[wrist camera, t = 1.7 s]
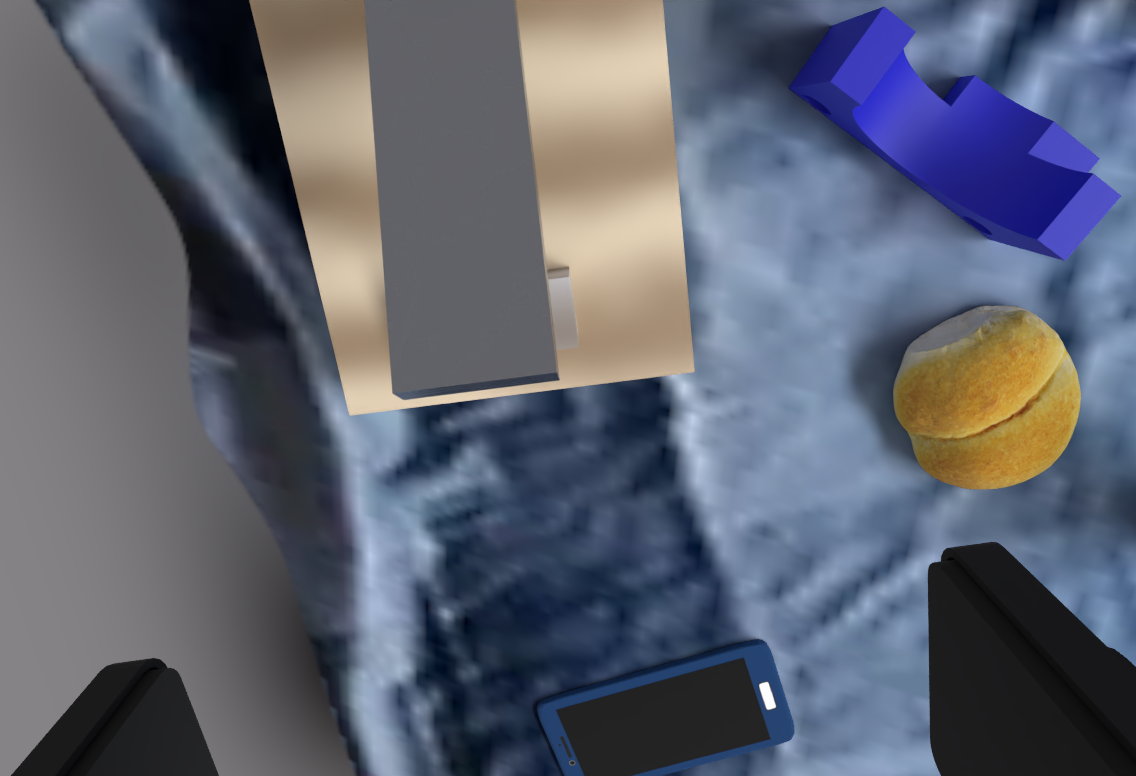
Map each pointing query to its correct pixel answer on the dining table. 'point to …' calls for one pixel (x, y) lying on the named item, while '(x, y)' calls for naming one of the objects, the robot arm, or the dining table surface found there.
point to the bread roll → (988, 398)
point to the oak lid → (564, 178)
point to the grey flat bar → (457, 198)
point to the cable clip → (957, 139)
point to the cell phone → (671, 715)
